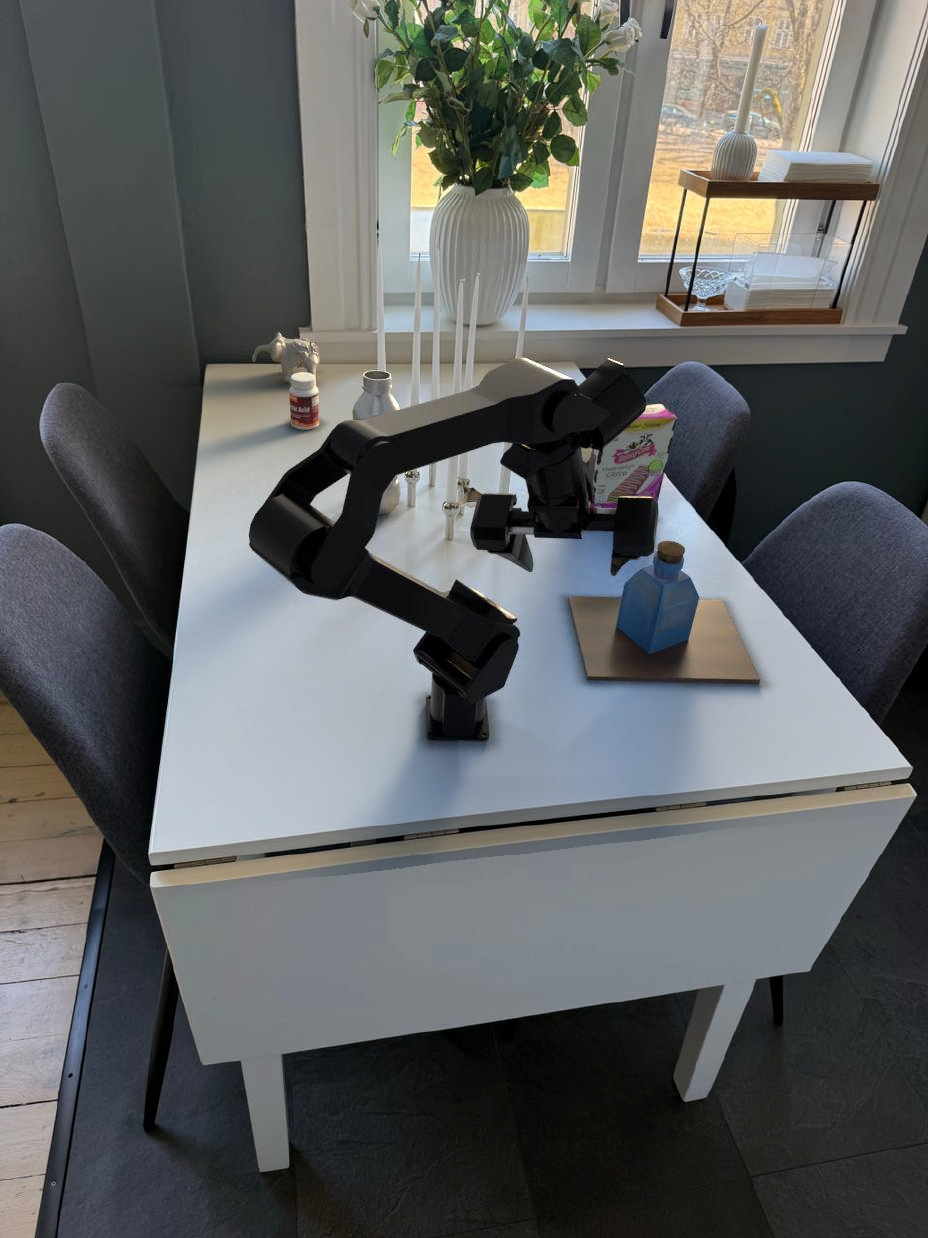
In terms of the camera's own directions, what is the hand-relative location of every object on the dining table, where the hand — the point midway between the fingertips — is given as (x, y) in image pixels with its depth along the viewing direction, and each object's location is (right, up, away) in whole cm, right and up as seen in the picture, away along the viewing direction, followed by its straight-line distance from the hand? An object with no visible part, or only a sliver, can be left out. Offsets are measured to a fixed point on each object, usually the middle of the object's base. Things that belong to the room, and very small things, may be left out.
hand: (572, 570), depth 101 cm
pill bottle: (-39, +27, +53) cm, 71 cm away
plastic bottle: (-25, +10, +32) cm, 42 cm away
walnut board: (+12, -8, +10) cm, 17 cm away
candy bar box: (+10, +10, +34) cm, 37 cm away
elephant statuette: (-45, +39, +69) cm, 91 cm away
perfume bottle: (+11, -7, +10) cm, 16 cm away
